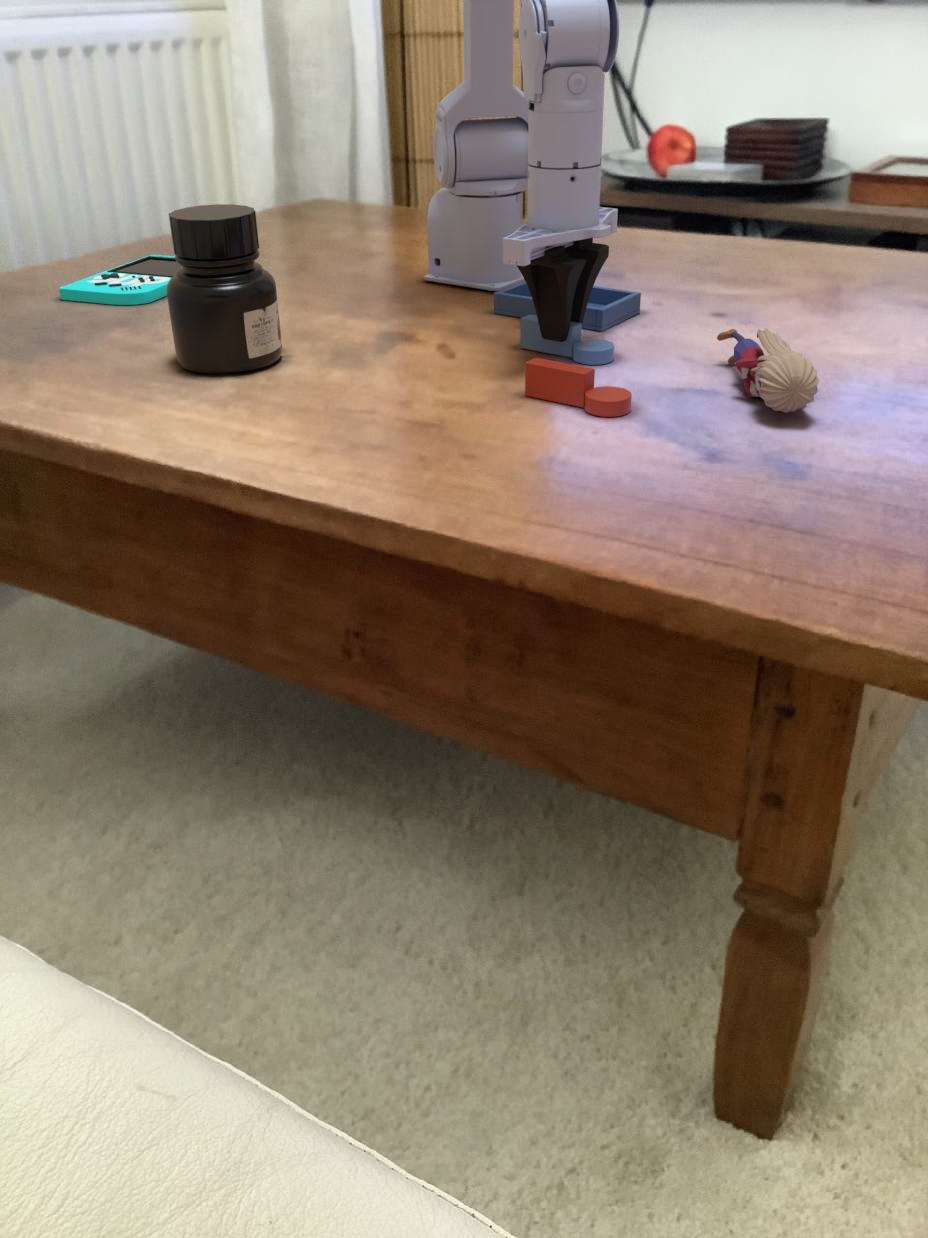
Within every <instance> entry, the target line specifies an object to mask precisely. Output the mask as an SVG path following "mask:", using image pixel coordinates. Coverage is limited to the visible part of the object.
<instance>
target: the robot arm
mask: <svg viewBox="0 0 928 1238" xmlns="http://www.w3.org/2000/svg"><path fill="white" fill-rule="evenodd" d="M462 2H463V4H462V5H463V80H462V81H461V82H460V84H458V85H457V86H456V87H455V88H453V89H452V90H451V91H450V92H448V94H447V95H446V96H444V97H443V98H442V99H441V101H440V102H439V103H438V104H437V108H436V110H435V127H434V132H433V143H432V144H433V145H432V146H433V163H434V171H435V176H436V179H437V181H438V183H439V184H441V186H442V188H440V189H438V190H437V191H436V192H435V193H434V194H433V195H432V197H431V199H430V202H429V204H428V208H427V213H426V215H427V216H426V233H427V235H426V237H427V259H428V260H427V263H428V264H427V265H428V273H427V274H424V276H423V278H424V281H427V282H432V283H433V282H434V283H439V284H446V285H453V286H458V287H459V286H460V287H466V288H472V289H477V290H484V291H490V292H498V291H500V290H503V289H506V288H508V287H511V286H513V285H516V284H518V283H521V282H524V281H526V284H527V286H528V288H529V291H530V293H531V296H532V299H533V303H534V306H535V310H536V314H537V319H538V323H539V327H540V332H541V335H542V339H547V340H552V341H558V342H564V341H566V339H567V336H568V332H569V328H570V322H571V321H572V322H577V323H581V324H582V323H583V319H584V315H585V311H586V307H587V304H588V300H589V297H590V294H591V291H592V288H593V286H595V282H596V280H597V278H598V276H599V274H600V272H601V270H602V268H603V266H604V264H605V263H606V261H607V259H608V258H609V256H610V246H609V245H608V244H604V243H598V242H597V243H596V242H594V239H603V238H605V237H608V236H610V235H612V234H617V232H618V216H619V215H618V214H619V209H618V208H613V207H604V206H601V184H602V183H601V181H602V157H603V156H602V151H603V128H604V106H605V83H606V82H605V81H606V73H608V72H609V71H611V69H612V68H613V66H614V64H615V60H616V58H617V53H618V49H619V41H620V15H619V14H620V13H619V6H618V2H617V0H520V4H521V7H520V12H519V20H518V49H519V56H520V63H521V69H522V90H521V89H520V88H519V87H518V86H516V85H515V84H514V34H515V33H514V29H515V28H514V27H515V25H514V24H515V23H514V21H515V19H514V18H515V0H463V1H462ZM524 192H527V221H525V222H524V221H523V220H524V219H523V217H524V214H523V213H524V212H523V211H524V210H523V209H524V207H523V206H524V195H523V194H524Z"/></svg>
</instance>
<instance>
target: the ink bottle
mask: <svg viewBox="0 0 928 1238" xmlns="http://www.w3.org/2000/svg"><path fill="white" fill-rule="evenodd" d="M256 212H257V211H256V210H255V208H254V207H252V206H248V205H243V204H234V203H232V204H231V203H229V204H225V203H224V204H221V203H217V204H204V205H203V204H201V205H194V206H186V207H183V208H179V209H174V210H173V211H171V212H169V213H168V220H169V226H170V234H171V241H172V247H173V252H174V256H175V260H176V262H177V263H178V264H180V265H182V267H180V268H179V269H178V270H177V271H176V275H175V276H173V277H172V278H171V279H170V281H169V282H168V285H167V296H166V297H167V305H168V311H169V319H170V325H171V330H172V338H173V344H174V345H173V346H174V352H175V357H176V361H177V363H178V364H179V365H180V366H181V367H182V368H184V369H185V370H187V371H191V372H194V373H202V374H229V373H230V374H231V373H240V372H249V371H254V370H259V369H262V368H266V367H268V366H270V365H273V364H274V363H275V362H277V361H278V360H279V359H280V357H281V356H282V354H283V341H282V332H281V322H280V321H281V320H280V311H279V302H278V292H277V285H276V284H277V283H276V280H275V278H274V277H273V275H272V274H271V272H269V271H268V270H266V269H264V268H263V266H262V265H261V263H259V262H257V261H256V260H257V259H258V258H259V257H260V250H259V249H260V242H259V233H258V232H259V231H258V222H257V213H256Z"/></svg>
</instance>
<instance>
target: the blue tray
mask: <svg viewBox="0 0 928 1238" xmlns="http://www.w3.org/2000/svg"><path fill="white" fill-rule="evenodd" d="M641 298H642V293H641V292H639V291H632V290H625V289H618V288H612V287H605V286H599V285H593V288H592V291H591V294H590V297H589V300H588V304H587V307H586V311H585V315H584V319H583V323H582V327H581V329H587V330H592V331H597V332H598V331H599V332H603V331H605V330H608V329H610V328H612V327H614V326H616V325H618V324H619V323H622V322H624V321H626V320H628V319H630V318H632V317H634V316H636V315H638V314H641V301H642V300H641ZM493 314H496V315H497V314H498V315H502V316H503V315H504V316H509V317H515V318H520V319H521V318H523V317H525V316H527V315H536V316H537V314H536V310H535V306H534V303H533V299H532V296H531V293H530V291H529V288H528V286H527V284H526V281H524V282H521V283H518V284H516V285H513V286H511V287H508V288H506V289H503V290H500V291H494V292H493Z"/></svg>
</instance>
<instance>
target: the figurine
mask: <svg viewBox="0 0 928 1238" xmlns="http://www.w3.org/2000/svg"><path fill="white" fill-rule="evenodd" d="M756 338H757V339H758V340H759V342H760V344H761V345H762V347H763V348H764V350H765V351H766V352H767V354H765V353H764V350H763V349H762V348H761V346H760V345H759V344H758V343H757V342H756V341H755V340H753V339H751V338H745V337H744V336H743V335H742V334H740V333H739V332H738V330H737V329H734V328H732V329H729V330H726V331H722V332H720V333H718V335H717V336H716V339H717V341H718V342H721V341H725V340H728V339H735V340H736V341H737V343H736V344H735V345H734V347H733V355H731V356H730V357H729V358H728V359H727V363H728V364H730V365H734V364H735V367H736V369H737V371H738V372H739V373H740V375H741V376H742V381H743V385H744V389H745V393H746V395H747V397H748V398H761V399H762V400H763V403H764V404H765V406H766V407H769V408H771V409H772V410H773V411H775V412H781V413H784V414H787V413H789V412H791V413H793V412H796V411H797V410H801V409H802V408H803V409H804V408H806V407H807V404H810V403H813V402H814V401H815V395H816V394H817V393H818V392H819V390H818V385H819V383H820V379H819V378H818V370H817V369H816V368H815V366H813V363H812V361H811V360H810V359H809V358H807V357H804V356H803V355H802V354H801V353H799V352H796V351H794V350H792V348H791V344H790V343H788V342H787V341H785V340H784V339H783V338H782V336H780V334H779V333H778V332H772V331H771V330H769V329H768V328H764V329H763V330H762V329H761V328H758V330H757V333H756Z"/></svg>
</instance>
